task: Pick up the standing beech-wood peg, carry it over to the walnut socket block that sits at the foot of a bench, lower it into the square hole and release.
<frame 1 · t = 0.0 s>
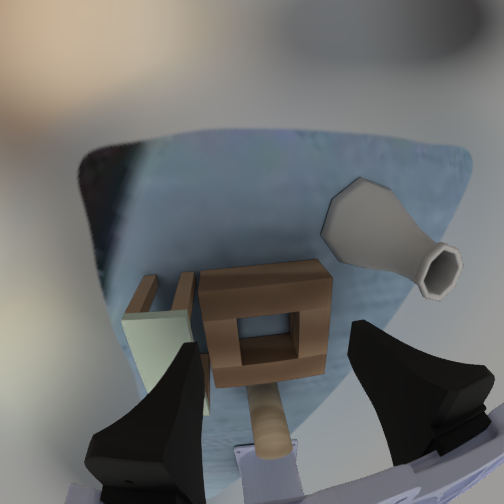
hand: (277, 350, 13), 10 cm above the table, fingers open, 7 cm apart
peg: (261, 385, 27), on the table
socket: (263, 315, 24), on the table
bench: (178, 322, 23), on the table
flask: (362, 223, 22), on the table
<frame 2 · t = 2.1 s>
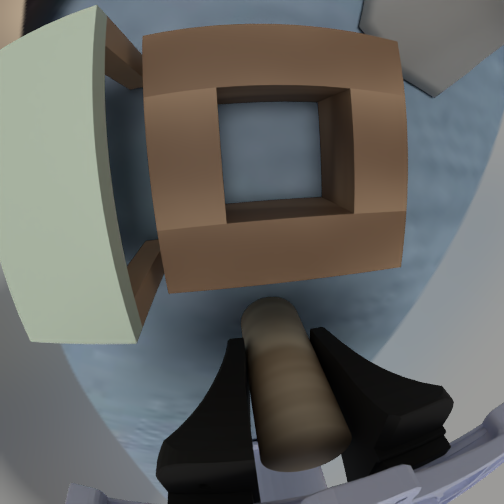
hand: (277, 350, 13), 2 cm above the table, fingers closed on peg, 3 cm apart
peg: (269, 321, 15), on the table, touching gripper
socket: (272, 150, 12), on the table
bench: (114, 168, 12), on the table
flask: (413, 35, 11), on the table
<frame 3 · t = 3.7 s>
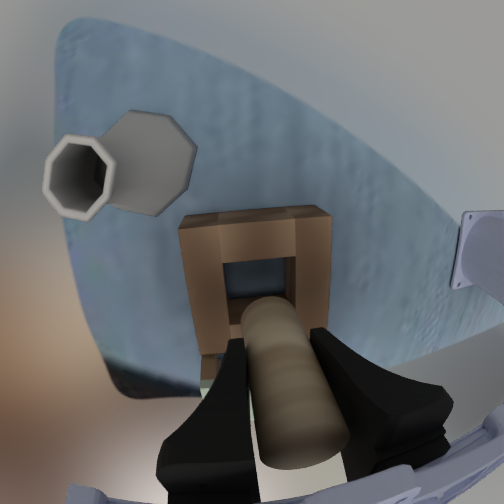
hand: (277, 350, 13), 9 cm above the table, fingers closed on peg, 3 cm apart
peg: (269, 321, 15), point 7 cm above the table, touching gripper
socket: (254, 270, 21), on the table
bench: (259, 345, 24), on the table
flask: (143, 162, 18), on the table
when the fingers open (4 cm above the table, at t = 5.6 s): peg drops 1 cm, resting in socket.
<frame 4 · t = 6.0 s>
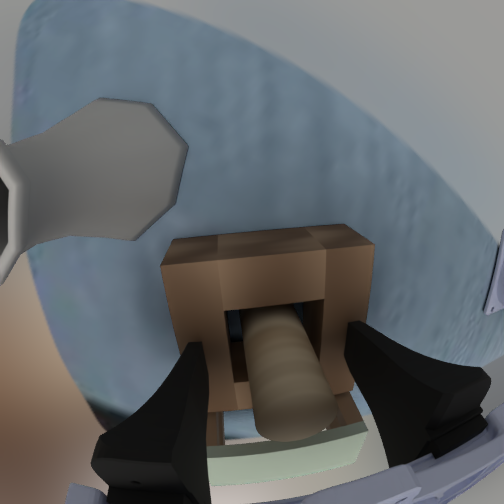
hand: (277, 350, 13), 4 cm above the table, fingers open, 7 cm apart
peg: (265, 308, 16), resting in socket
socket: (265, 307, 16), on the table
bench: (269, 390, 19), on the table
flask: (117, 167, 13), on the table
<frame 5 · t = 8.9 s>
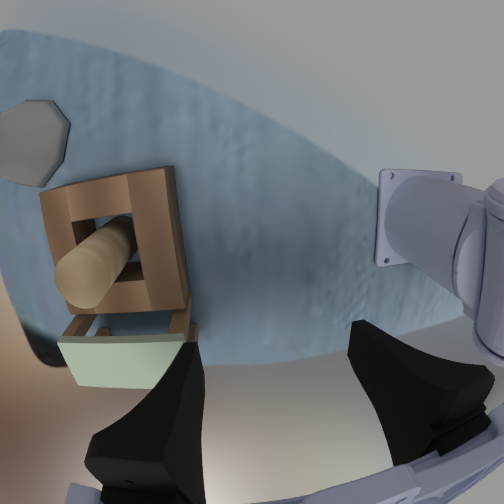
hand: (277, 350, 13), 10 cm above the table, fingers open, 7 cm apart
peg: (123, 235, 20), resting in socket
socket: (122, 235, 20), on the table
bench: (141, 316, 22), on the table
flask: (35, 142, 17), on the table
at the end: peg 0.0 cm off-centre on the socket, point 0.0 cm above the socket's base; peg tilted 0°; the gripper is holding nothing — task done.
